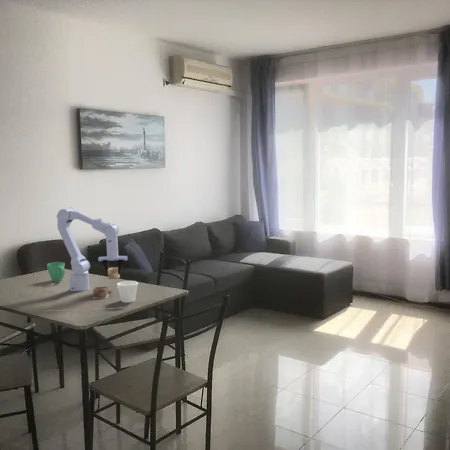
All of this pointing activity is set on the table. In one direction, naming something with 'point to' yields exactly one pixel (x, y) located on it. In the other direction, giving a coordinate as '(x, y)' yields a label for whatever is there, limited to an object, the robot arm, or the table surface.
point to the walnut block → (100, 292)
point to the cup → (127, 290)
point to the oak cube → (113, 273)
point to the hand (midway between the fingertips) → (113, 274)
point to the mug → (56, 270)
